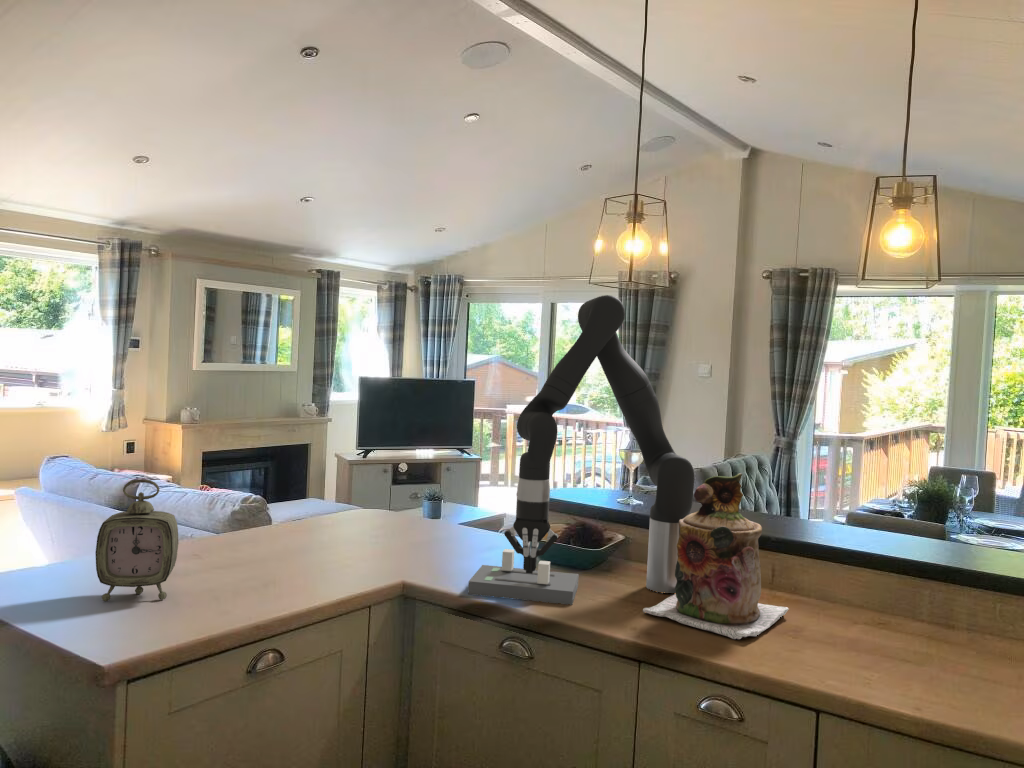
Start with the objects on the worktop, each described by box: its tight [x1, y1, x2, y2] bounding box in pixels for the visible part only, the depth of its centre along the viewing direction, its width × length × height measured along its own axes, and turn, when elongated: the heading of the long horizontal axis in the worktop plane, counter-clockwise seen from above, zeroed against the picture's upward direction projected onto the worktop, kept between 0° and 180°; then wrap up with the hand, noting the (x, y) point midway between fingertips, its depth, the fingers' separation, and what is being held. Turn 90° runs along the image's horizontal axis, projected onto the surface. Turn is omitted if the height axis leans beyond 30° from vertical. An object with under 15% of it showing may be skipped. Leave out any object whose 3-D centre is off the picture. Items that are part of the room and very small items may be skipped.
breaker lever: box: [501, 548, 515, 571], centre depth 181 cm, size 2×3×4 cm
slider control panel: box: [467, 564, 580, 606], centre depth 176 cm, size 24×15×3 cm, turn 80°
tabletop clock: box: [95, 478, 179, 602], centre depth 157 cm, size 14×9×25 cm, turn 105°
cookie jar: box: [642, 472, 789, 640], centre depth 164 cm, size 25×25×32 cm
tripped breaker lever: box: [537, 560, 551, 584], centre depth 171 cm, size 2×3×4 cm
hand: (529, 572), depth 172 cm, fingers closed
